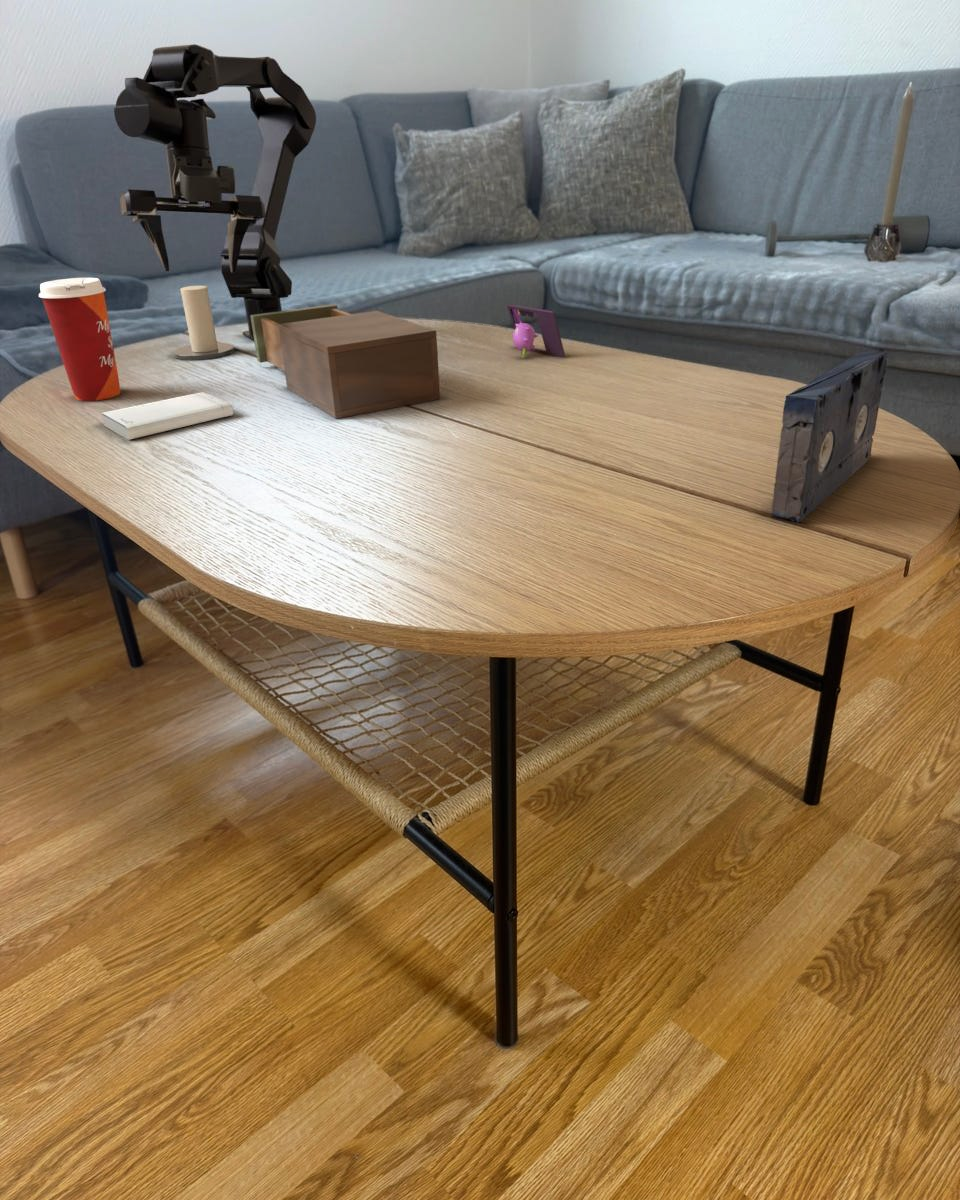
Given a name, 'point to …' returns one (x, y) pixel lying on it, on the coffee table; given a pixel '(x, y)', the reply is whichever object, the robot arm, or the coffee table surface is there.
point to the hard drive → (166, 415)
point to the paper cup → (83, 336)
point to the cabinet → (360, 362)
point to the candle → (199, 318)
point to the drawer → (269, 330)
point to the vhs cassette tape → (827, 433)
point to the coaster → (188, 354)
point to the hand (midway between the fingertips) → (200, 271)
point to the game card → (526, 333)
